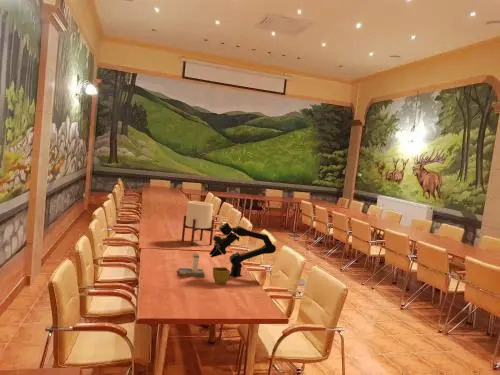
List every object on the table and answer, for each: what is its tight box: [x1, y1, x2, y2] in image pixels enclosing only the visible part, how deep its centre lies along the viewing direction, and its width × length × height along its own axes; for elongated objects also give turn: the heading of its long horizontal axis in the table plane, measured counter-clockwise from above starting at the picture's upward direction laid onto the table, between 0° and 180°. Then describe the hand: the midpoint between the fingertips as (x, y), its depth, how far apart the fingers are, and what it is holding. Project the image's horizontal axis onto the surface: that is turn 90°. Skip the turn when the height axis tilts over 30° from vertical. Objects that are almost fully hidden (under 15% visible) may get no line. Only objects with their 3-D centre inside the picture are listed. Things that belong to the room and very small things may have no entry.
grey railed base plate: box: [177, 267, 205, 278], centre depth 278 cm, size 16×12×2 cm
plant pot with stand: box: [181, 200, 215, 247], centre depth 375 cm, size 22×22×36 cm
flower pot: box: [212, 266, 231, 285], centre depth 264 cm, size 9×9×9 cm
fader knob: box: [191, 253, 200, 272], centre depth 279 cm, size 3×6×11 cm, turn 14°
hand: (210, 255), depth 281 cm, fingers open, 6 cm apart
